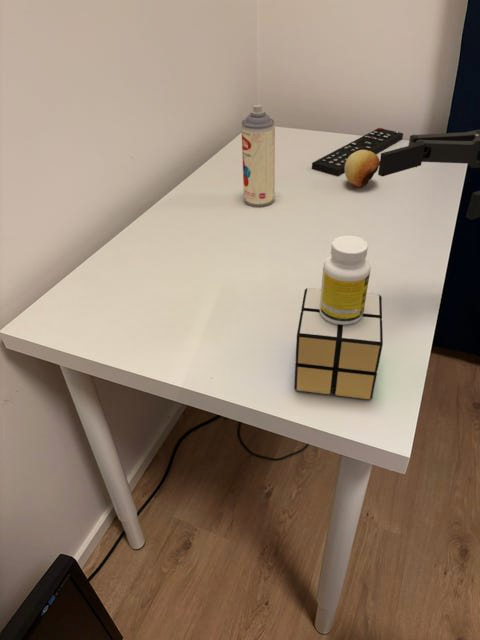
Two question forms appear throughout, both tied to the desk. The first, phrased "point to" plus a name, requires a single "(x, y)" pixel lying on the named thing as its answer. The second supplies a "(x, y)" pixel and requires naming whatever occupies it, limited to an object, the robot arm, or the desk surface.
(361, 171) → the fruit
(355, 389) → the puzzle cube
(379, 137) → the remote control
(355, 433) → the desk surface
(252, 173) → the aerosol can
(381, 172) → the robot arm
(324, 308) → the supplement bottle
